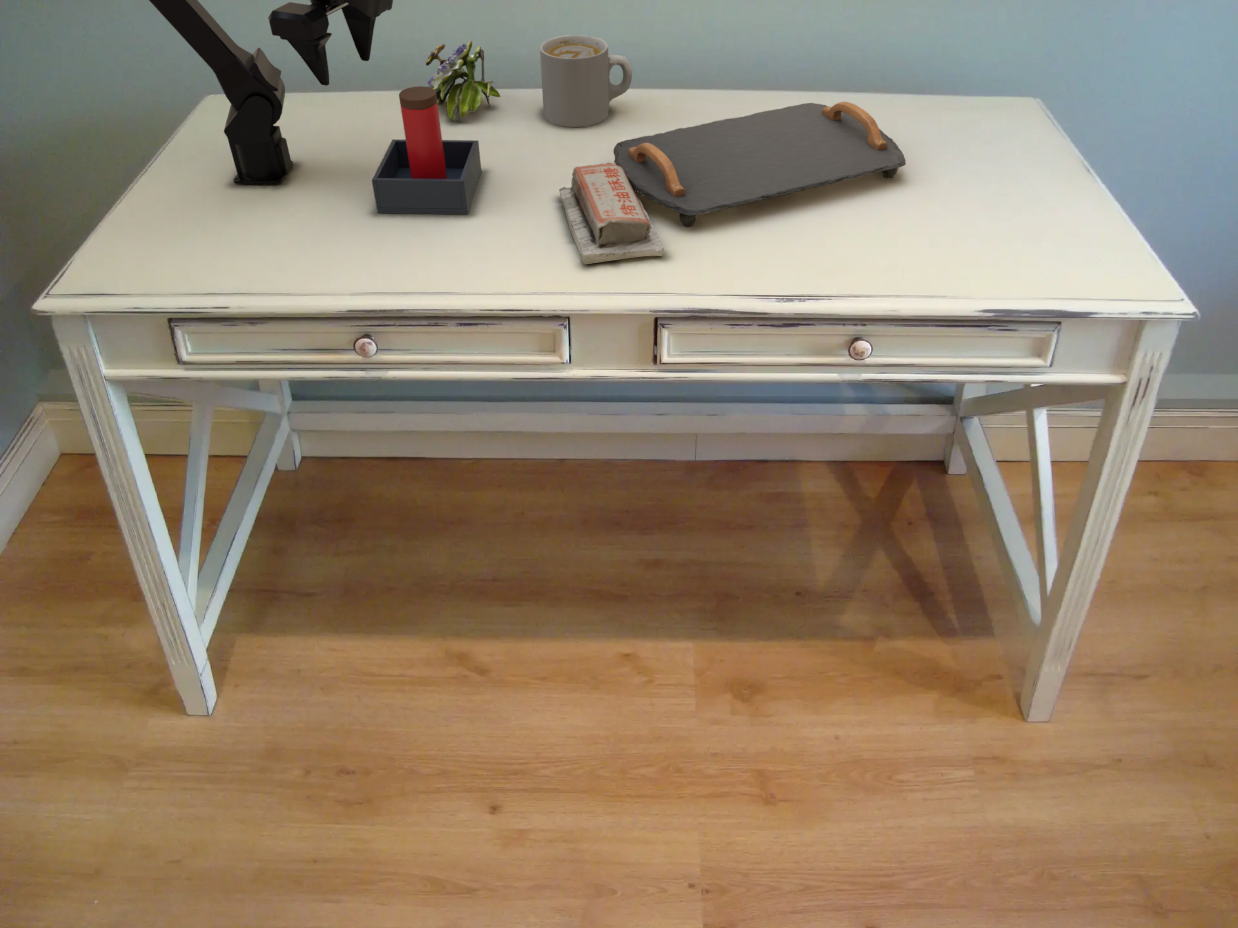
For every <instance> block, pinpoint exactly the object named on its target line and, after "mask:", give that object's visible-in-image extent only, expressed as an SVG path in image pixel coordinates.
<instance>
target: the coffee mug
mask: <svg viewBox="0 0 1238 928" xmlns="http://www.w3.org/2000/svg"><path fill="white" fill-rule="evenodd" d="M539 56H540V74H541V91H542V94H541V95H542V109H543V110H542V111H543V117H544V119H545V120H546V121H548V122H549V123H551V124H553V125H556V126H560V127H565V128H566V127H567V128H582V127H589V126H590V127H591V126H594V125H597V124H600V123H603V122H604V121H605V120H607V118H609V116H610V108H609V107H610V103H611V101H612V100H614V99H616V98H618V97H620V96H622V95H624V94H625V93H626V92H628V90H629V89H630V88H631V84H632V80H633V71H632V70H633V69H632V67H631V63H630V61H629V59H628V58H627V57H625V56H624V55H621V54H609V45H608V43H607V42H606V41H605V40H603V39H602V38H600V37H596V36H592V35H585V34H567V35H565V34H564V35H560V36H555V37H551V38H549V39H546V40H545V41H543V42H542V43H541V44H540V46H539ZM614 66H619V67H620V68H621V71H622V80H621V82H620V83H619V84H612V82H611V78H610V74H611V70H612V68H613V67H614Z"/></svg>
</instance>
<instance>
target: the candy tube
mask: <svg viewBox="0 0 1238 928" xmlns="http://www.w3.org/2000/svg"><path fill="white" fill-rule="evenodd" d="M398 99H399V105H400V112H401V119H402V125H403V133H404V138H405V139H404V140H406V145H407V152H408V159H409V165H410V172H411V178H412V179H447V174H446V166H445V158H444V150H443V142H442V140H443V136H442V128H441V120H440V119H441V118H440V112H439V105H438V104H439V103H437V95H436V91H435V90H434V89H432V88H431V87H429V86H422V85H421V86H419V85H417V86H412V87H407V88H404V89H402V90H401V91H400V92H399V94H398Z"/></svg>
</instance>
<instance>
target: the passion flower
mask: <svg viewBox="0 0 1238 928" xmlns="http://www.w3.org/2000/svg"><path fill="white" fill-rule="evenodd" d="M445 47H446V44H445V43H443V44H441V45H438V46H437V48H435V49H434V50H431V52H430V55H428V57H427V59H426V61H425V66H426V67H428V66H430V65H431V64H432V63H433V62H434V60H437V61H438V62H439V67H438V68H437V69H436V72H435V73H434V74H433V75H432V76H431V77H430V78H429V80H427V84H428V87H430V88H432V89H434V90H435V91H436V95H437V103H438V104H439V105H442V104H443V103H445V102H446V109H447V110H446V112H447V115H448V116H447V117H448V118H449V119H451V120H452V122H453V123H456V114H457V110H459V111H458V112H459V118H461V119H464V118H465V117H466V116H467V115H468V114H469V113H470V112H471V113H475V112H476V111H477V110H478V109H479V107H480V106H481V104H482V101H483V97H485V100H486V103H487V105H488V108H491V103H490V97H495V98H500V97H501V94H500V92H499V91H498V90H497V88H495V87H494V86H493V85H492V84H494V81H493V80H491V81H485V50H483V48H482V46H481V45H477V47H476V49H475V50H474V51H473V52H474V53H473V54H470V52H471V50H472V47H473V40H468V42H467V44H466V43H463V44H462V45H459V46H458V47H457V49H456V50H453V52H452V54H451V55H449V56H448V58H447V59H442V58H441V57H440V53H441V52H442V51H443V50H444V49H445ZM479 59H480V60H481V64H480V65H481V79H480V80H476V78H475V73H476V68H477V67H476V66H477V65H476V63H477V62H478V60H479ZM464 67H465V68H466V70H465V69H464ZM458 79H462V80H463V81H462V82H458V83H456V82H457V80H458ZM458 108H459V109H458Z"/></svg>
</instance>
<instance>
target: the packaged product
mask: <svg viewBox="0 0 1238 928" xmlns="http://www.w3.org/2000/svg"><path fill="white" fill-rule="evenodd" d="M571 173H572V174H571V175H572V176H571V186H570V187H565V186H563V187H560V188H559V189H558V192H559V197H560V200H561V202H562V205H563V208H564V211H565V216H566V220H567V223H568V227H569V230H570V233H571V236H572V238H573V241H574V243H575V245H576V248H577V250H578V253H579V255H580V258H581V260H582V262H583V264H584V265H590V264H597V263H603V262H610V261H619V260H627V259H632V258H640V257H663V255H664V251H665V247H664V246H663V244H662V241H661V239H660V237H659V235H658V234H657V231H656V229H655V227H654V225H653V223H652V221H651V219H650V217H649V215H648V212H647V211H646V210H645V209H644V205H643V203H642V201H641V199H640V197H639V195H638V193H637V191H636V190H635V189H634V188H633V187H632V186H631V184H630V182H629V180H628V178H627V176H626V174H625V172H624V170H623V168H621V167H620V166H618V165H616V164H615V163H614V164H613V162H612V163H611V162H607V163H600V164H588V165H582V166H576V167H573V170H572V172H571Z"/></svg>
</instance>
